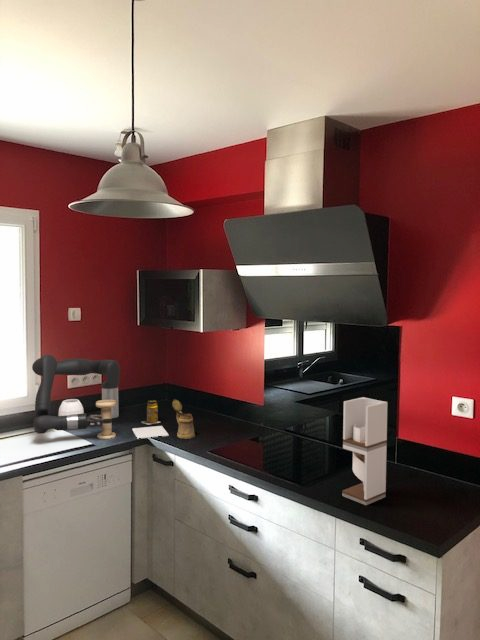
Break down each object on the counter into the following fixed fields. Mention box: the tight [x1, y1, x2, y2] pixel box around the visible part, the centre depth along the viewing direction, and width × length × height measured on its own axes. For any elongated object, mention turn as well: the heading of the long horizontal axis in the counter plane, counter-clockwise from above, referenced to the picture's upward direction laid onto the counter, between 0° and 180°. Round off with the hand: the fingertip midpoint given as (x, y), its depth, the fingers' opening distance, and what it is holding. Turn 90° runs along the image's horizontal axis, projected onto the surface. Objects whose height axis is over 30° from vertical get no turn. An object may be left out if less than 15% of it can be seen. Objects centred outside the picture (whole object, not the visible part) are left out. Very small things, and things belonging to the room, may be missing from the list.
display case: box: [341, 396, 388, 506], centre depth 190 cm, size 11×11×35 cm
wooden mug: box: [171, 398, 196, 440], centre depth 266 cm, size 9×14×18 cm, turn 49°
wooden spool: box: [95, 399, 117, 440], centre depth 264 cm, size 10×10×18 cm
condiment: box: [141, 399, 160, 425], centre depth 292 cm, size 7×8×12 cm
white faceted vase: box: [57, 398, 85, 416], centre depth 286 cm, size 13×13×14 cm
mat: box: [131, 425, 170, 440], centre depth 272 cm, size 18×16×1 cm
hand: (110, 418), depth 265 cm, fingers open, 7 cm apart
